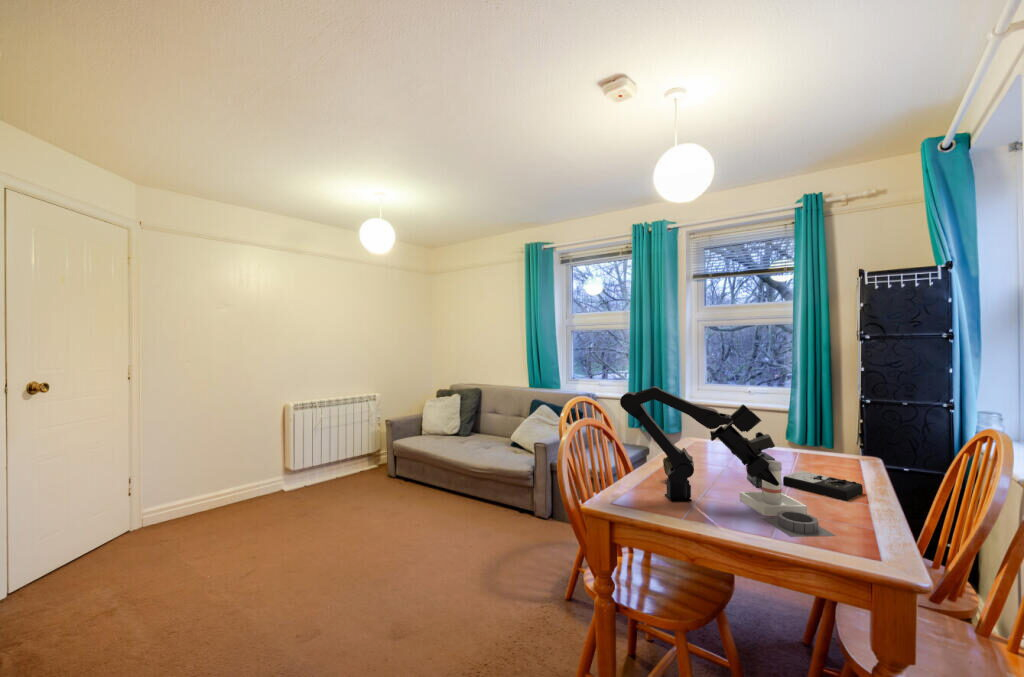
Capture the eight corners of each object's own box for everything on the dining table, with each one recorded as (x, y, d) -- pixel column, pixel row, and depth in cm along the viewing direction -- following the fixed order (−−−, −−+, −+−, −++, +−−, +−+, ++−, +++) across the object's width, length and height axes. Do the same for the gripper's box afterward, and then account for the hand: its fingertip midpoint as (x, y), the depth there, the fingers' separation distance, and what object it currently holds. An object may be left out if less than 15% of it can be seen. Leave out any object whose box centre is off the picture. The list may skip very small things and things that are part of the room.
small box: (776, 489, 152) (776, 458, 152) (756, 487, 153) (755, 457, 153) (765, 479, 162) (765, 451, 162) (746, 478, 164) (746, 450, 164)
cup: (682, 485, 156) (682, 463, 156) (660, 482, 159) (660, 460, 160) (686, 480, 162) (686, 458, 162) (665, 477, 166) (665, 455, 166)
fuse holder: (790, 540, 112) (790, 526, 112) (762, 521, 124) (761, 509, 124) (836, 539, 113) (836, 525, 113) (803, 520, 125) (803, 508, 125)
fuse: (774, 506, 129) (774, 465, 129) (757, 500, 134) (757, 461, 134) (785, 503, 131) (785, 463, 131) (768, 498, 136) (768, 459, 136)
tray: (764, 519, 126) (764, 506, 126) (739, 503, 138) (739, 492, 138) (807, 518, 126) (807, 506, 126) (778, 502, 139) (778, 491, 139)
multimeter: (846, 502, 140) (846, 486, 140) (782, 486, 156) (782, 472, 156) (863, 495, 147) (863, 480, 147) (800, 480, 163) (800, 466, 163)
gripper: (760, 430, 126) (806, 474, 121) (752, 420, 143) (792, 457, 138) (729, 455, 129) (773, 498, 124) (725, 442, 146) (764, 480, 141)
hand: (776, 482), depth 132 cm, fingers closed on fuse, 5 cm apart
